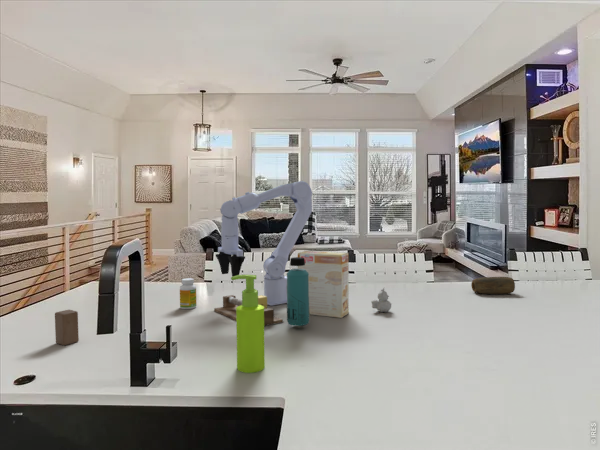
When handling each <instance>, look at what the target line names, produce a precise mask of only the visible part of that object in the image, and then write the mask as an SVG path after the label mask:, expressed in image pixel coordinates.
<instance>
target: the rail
mask: <svg viewBox="0 0 600 450" xmlns="http://www.w3.org/2000/svg"><path fill="white" fill-rule="evenodd" d="M241 305H242V299H239V298H237V297H236V295H234V294H230V295H224V296H222V306H219V307H215V308H213V309H214V310H213V311H214V312H216V313H219V314H221V315H223V316H226V317H227V318H230V319H232V320H234V321H236V308H237V307H238V306H241ZM274 313H275V309H273V308H271V307H267V309H264V327H266V326H270V325H272V326H273V325H274V324H275V325H276V324H279V323H284V319H283V318H280V317H277V316H275V314H274Z"/></svg>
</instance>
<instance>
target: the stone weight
mask: <svg viewBox="0 0 600 450" xmlns="http://www.w3.org/2000/svg"><path fill="white" fill-rule="evenodd" d="M471 289H472V291H473V292H474V293H475V294H481V293H482V295H507V294H512V293H514V292H515V289H516V283H515V279H513V278H512V277H509V276H487V277H486V276H485V277H476V278H474V279H472V281H471Z"/></svg>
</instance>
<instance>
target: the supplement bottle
mask: <svg viewBox="0 0 600 450" xmlns="http://www.w3.org/2000/svg"><path fill="white" fill-rule="evenodd" d="M194 283H195V279H194V278H191V277H187V278H182V279H181V284H182V285H180V286H179V309H182V310H193V309H196V308H197V286H196V285H195V284H194Z"/></svg>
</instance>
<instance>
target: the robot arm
mask: <svg viewBox="0 0 600 450" xmlns="http://www.w3.org/2000/svg"><path fill="white" fill-rule="evenodd" d="M312 190H313V189H311V186H310V185H309V183H308V182H307V181H303V180H299V181H294V182H291V183H290V182H289V183H285V184H281V185H278V186H275V187H272V188H270V189H268V190H265V191H262V192H260V193H255V192H252V191H251V192H250V191H246V192H245V193H244V195H241V196H238V197H235V196H234V197H232V199H230V200H229V199H228V200H227V201H224V202H223V203H222V204H221V206H220V211H219V212H220V213H221V223H220V224H221V226H220V229H221V230H220V231H221V234H220V235H221V246H218V247H217V253H216V254H215V257H216V259H217V261H218V264H219V266H220V267H219V268H220V271H221V275H226V274H227V275H228V274H229V271H230V268H231V277H233V276H237V275H240V273H241V268H242V266H243V263H244V261H245V259H246V256H245V255H244V250H243V249H240V248H239V221H238V217H239V214H241V215H243V214H244V213H248V212H250V211H252V210H253V211H254V210H256V209H258V208H259V207H260V205H261V203H264V202H266V201H269V200H272V199H276V198H278V197H289V198H290V199H291V200H292V201H293V204H294V207H295V209H296V211H295V213H294V215H293V216H292V218H291V220H290V222H289V224H288V226H287V228H286V229H285V232H284V233H283V235H282V237H281V239H280V240H279V243H278V244H277V246H276V248H275V249H274V251H272V252H271V255H270V256H269V257H267V258H266V259H265V260H264V261H263V270H264V272H265V274H264V275H263V290H264V291H263V296H266V297H267V306H268V305H269V306H271V307H272V306H276V305H284V304H287V294H286V293H287V288H286V287H287V275H285V273H286V265H287V263H288V261H289V256H290V253H291V252H292V250H293V248H294V246H295V244H296V242H297V240H298V239H299V236H300V234H301V233H302V231H303V229H304V227H305V225H306V224H307V221H309V218H310V216H311V215H312V213H313V199H312V198H313V191H312Z"/></svg>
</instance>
